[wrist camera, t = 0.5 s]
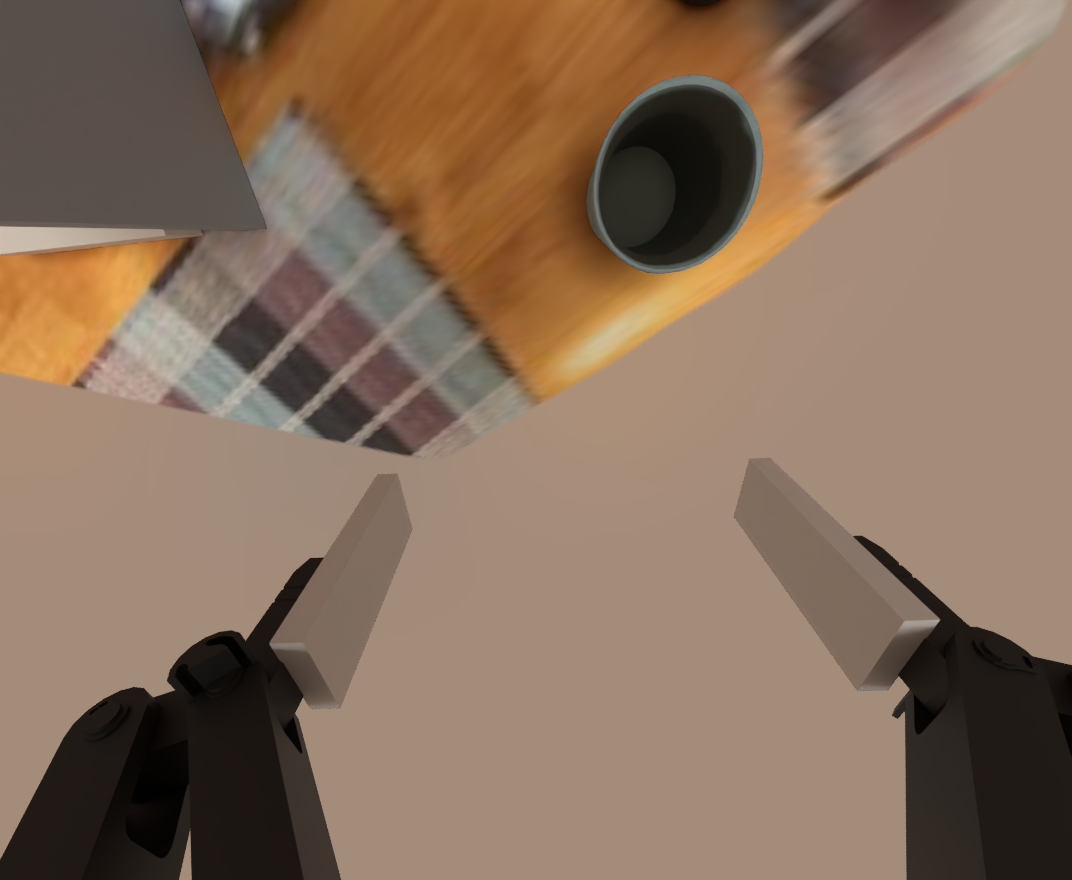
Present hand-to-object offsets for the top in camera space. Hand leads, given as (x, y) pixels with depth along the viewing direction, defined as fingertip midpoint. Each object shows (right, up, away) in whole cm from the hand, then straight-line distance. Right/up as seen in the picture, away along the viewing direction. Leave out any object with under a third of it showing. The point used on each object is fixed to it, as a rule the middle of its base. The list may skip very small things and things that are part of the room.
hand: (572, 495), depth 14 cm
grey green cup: (+7, +24, +19) cm, 31 cm away
